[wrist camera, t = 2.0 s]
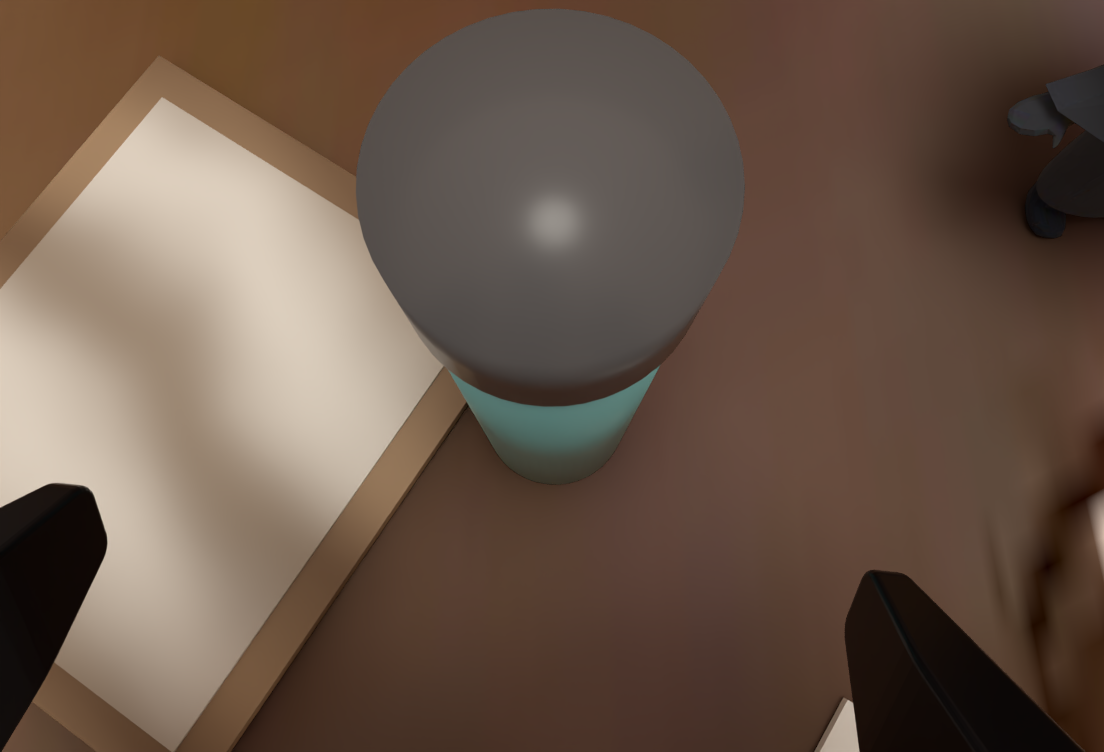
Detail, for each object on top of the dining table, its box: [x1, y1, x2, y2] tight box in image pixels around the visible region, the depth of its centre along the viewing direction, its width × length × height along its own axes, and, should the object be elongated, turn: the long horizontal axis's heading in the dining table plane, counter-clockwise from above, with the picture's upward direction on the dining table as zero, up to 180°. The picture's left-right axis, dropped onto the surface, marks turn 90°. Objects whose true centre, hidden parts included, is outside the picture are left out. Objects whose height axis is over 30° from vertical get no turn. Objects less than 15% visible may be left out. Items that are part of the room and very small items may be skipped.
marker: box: [356, 9, 745, 484], centre depth 14 cm, size 4×4×13 cm
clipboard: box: [0, 56, 468, 752], centre depth 20 cm, size 15×13×1 cm
